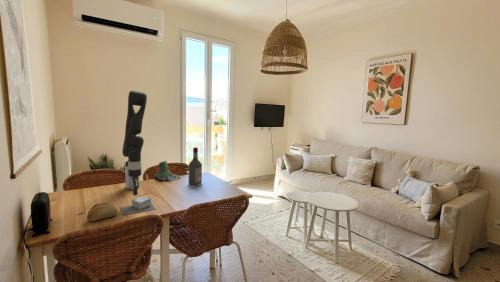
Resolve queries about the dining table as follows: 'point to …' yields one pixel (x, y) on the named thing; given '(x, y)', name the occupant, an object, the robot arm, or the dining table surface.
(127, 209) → the mat
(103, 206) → the bread roll
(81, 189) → the dining table surface
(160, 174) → the tree stump
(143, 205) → the medicine box
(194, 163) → the liquor
